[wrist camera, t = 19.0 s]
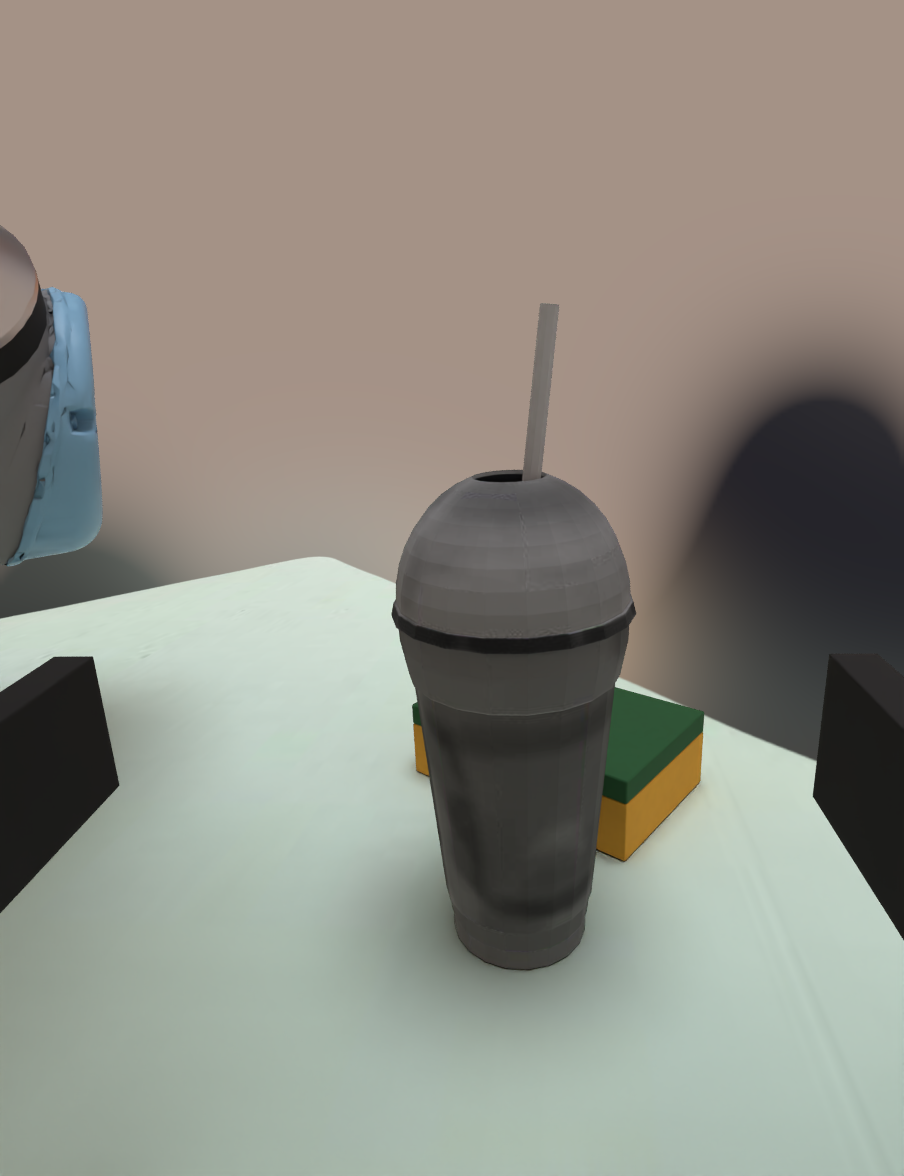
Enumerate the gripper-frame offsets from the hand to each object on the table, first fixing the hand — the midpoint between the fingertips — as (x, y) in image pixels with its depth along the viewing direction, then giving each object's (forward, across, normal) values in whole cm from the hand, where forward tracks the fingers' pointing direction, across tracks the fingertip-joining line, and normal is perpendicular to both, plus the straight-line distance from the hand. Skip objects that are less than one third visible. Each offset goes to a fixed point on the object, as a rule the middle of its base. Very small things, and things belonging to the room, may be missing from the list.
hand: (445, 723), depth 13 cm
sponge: (+19, +2, -13) cm, 23 cm away
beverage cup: (+9, +1, -13) cm, 16 cm away
